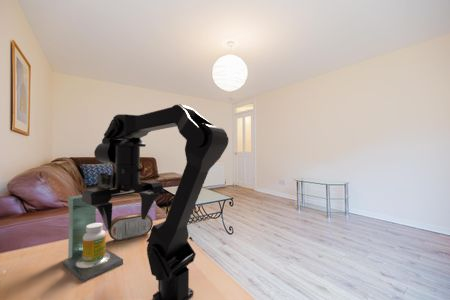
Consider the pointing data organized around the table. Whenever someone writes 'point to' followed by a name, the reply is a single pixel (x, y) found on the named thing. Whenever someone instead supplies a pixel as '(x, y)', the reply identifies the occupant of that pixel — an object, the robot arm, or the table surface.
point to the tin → (130, 226)
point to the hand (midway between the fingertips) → (127, 224)
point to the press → (78, 221)
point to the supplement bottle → (94, 244)
